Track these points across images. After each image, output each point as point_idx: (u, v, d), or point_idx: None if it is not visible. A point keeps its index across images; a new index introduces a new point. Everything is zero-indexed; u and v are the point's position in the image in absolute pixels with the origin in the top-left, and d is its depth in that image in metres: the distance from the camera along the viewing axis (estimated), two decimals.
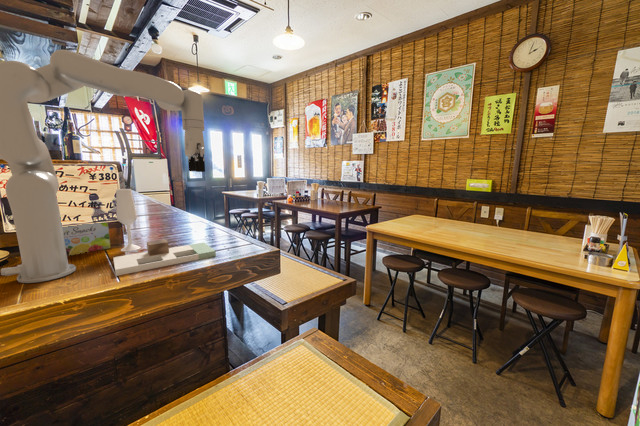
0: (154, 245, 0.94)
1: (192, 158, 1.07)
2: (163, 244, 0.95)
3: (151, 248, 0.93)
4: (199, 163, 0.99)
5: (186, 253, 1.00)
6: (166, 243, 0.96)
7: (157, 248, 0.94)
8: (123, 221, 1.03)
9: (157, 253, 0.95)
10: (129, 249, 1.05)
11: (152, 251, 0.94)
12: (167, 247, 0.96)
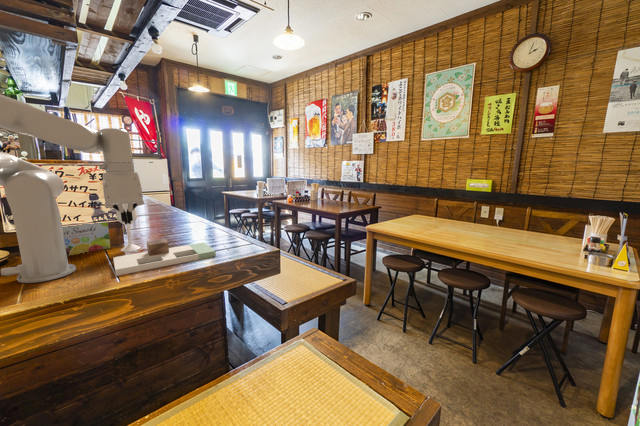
0: (154, 245, 0.94)
1: (122, 208, 0.89)
2: (163, 244, 0.95)
3: (151, 248, 0.93)
4: (131, 213, 0.90)
5: (186, 253, 1.00)
6: (166, 243, 0.96)
7: (157, 248, 0.94)
8: None
9: (157, 253, 0.95)
10: (129, 249, 1.05)
11: (152, 251, 0.94)
12: (167, 247, 0.96)
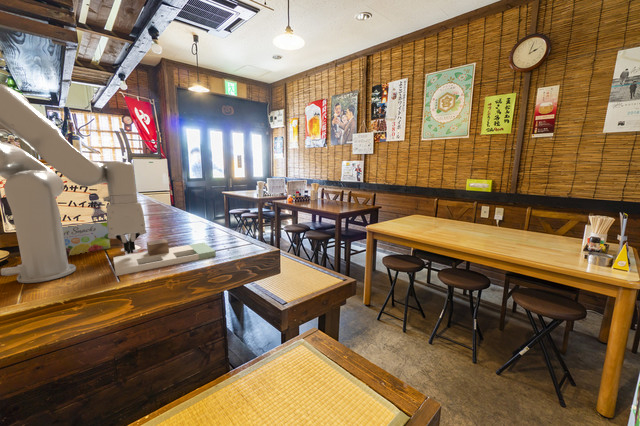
0: (154, 245, 0.94)
1: None
2: (163, 244, 0.95)
3: (151, 248, 0.93)
4: (134, 243, 0.92)
5: (186, 253, 1.00)
6: (166, 243, 0.96)
7: (157, 248, 0.94)
8: None
9: (157, 253, 0.95)
10: None
11: (152, 251, 0.94)
12: (167, 247, 0.96)
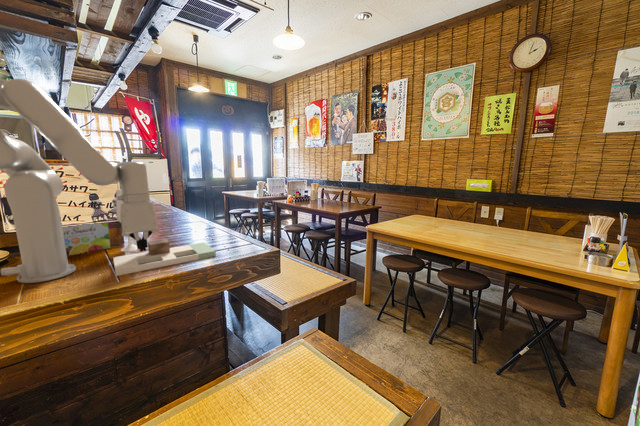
0: (155, 245, 0.94)
1: None
2: (164, 244, 0.96)
3: (152, 248, 0.93)
4: (146, 241, 0.94)
5: (186, 253, 1.00)
6: (167, 243, 0.96)
7: (158, 248, 0.95)
8: None
9: (158, 253, 0.95)
10: (129, 249, 1.05)
11: (152, 251, 0.94)
12: (168, 247, 0.97)
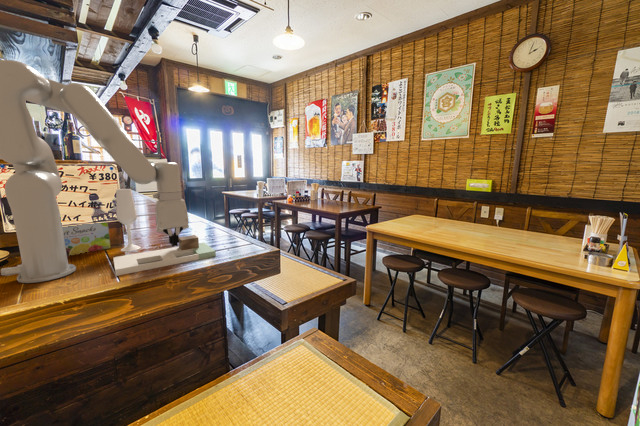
0: (186, 240, 1.00)
1: None
2: (194, 239, 1.02)
3: (183, 243, 1.00)
4: None
5: (186, 253, 1.00)
6: (196, 238, 1.02)
7: (189, 243, 1.01)
8: (123, 221, 1.03)
9: (188, 248, 1.01)
10: (129, 249, 1.05)
11: (184, 246, 1.00)
12: (197, 242, 1.03)
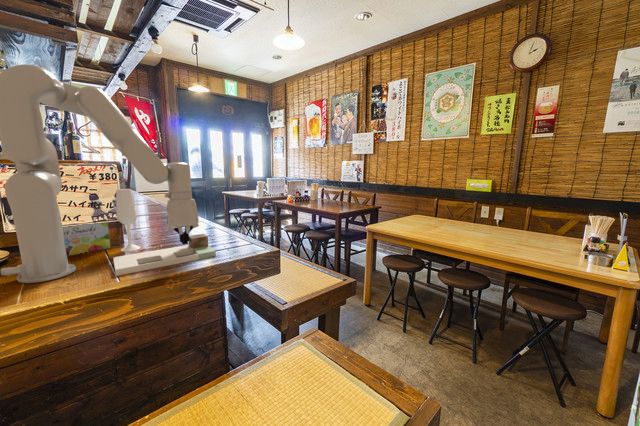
0: (196, 239, 1.02)
1: None
2: (203, 238, 1.04)
3: (193, 242, 1.02)
4: None
5: (186, 253, 1.00)
6: (206, 237, 1.05)
7: (198, 241, 1.03)
8: (123, 221, 1.03)
9: (198, 246, 1.03)
10: (129, 249, 1.05)
11: (194, 244, 1.02)
12: (207, 241, 1.05)
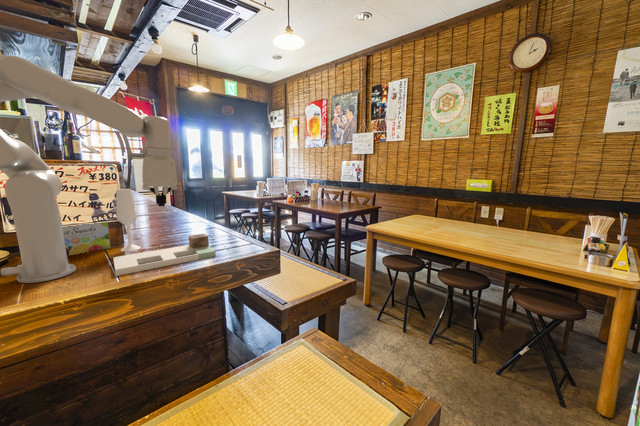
0: (196, 239, 1.02)
1: None
2: (204, 238, 1.04)
3: (193, 242, 1.02)
4: (165, 197, 0.96)
5: (186, 253, 1.00)
6: (206, 237, 1.05)
7: (199, 241, 1.03)
8: (123, 221, 1.03)
9: (199, 246, 1.03)
10: (129, 249, 1.05)
11: (194, 244, 1.02)
12: (207, 241, 1.05)
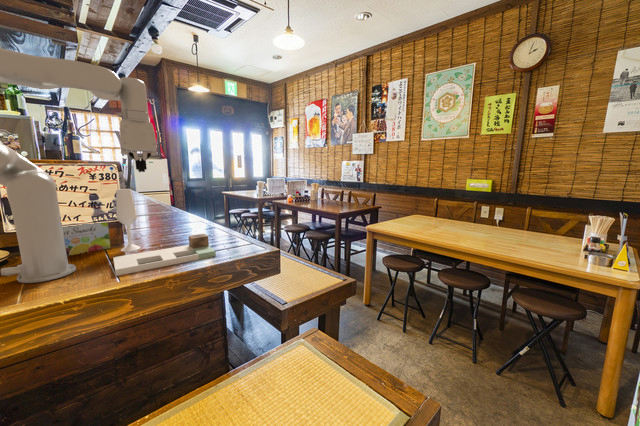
0: (196, 239, 1.02)
1: None
2: (204, 238, 1.04)
3: (193, 242, 1.02)
4: (145, 163, 0.95)
5: (186, 253, 1.00)
6: (206, 237, 1.05)
7: (199, 241, 1.03)
8: (123, 221, 1.03)
9: (199, 246, 1.03)
10: (129, 249, 1.05)
11: (194, 244, 1.02)
12: (207, 241, 1.05)
